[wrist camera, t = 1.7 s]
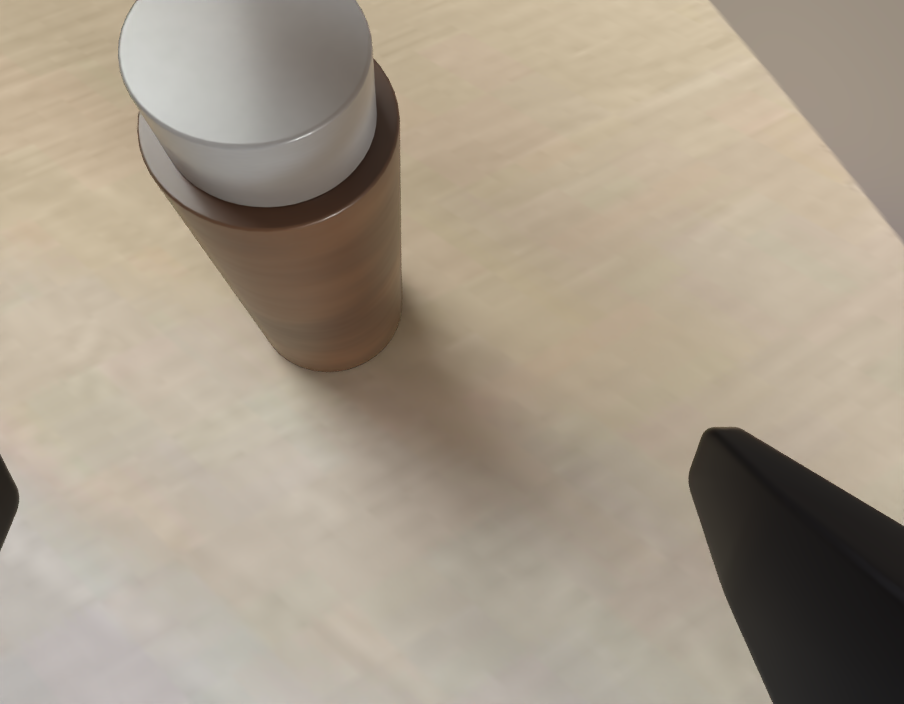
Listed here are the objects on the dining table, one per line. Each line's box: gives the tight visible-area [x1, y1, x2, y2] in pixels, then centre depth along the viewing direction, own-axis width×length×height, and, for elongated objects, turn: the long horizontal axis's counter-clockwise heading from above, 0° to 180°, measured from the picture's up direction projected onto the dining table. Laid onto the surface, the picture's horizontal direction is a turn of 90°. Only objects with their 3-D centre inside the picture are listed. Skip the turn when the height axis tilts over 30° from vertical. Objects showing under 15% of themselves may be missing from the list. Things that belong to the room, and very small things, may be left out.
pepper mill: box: [118, 0, 402, 372], centre depth 17 cm, size 6×6×13 cm
